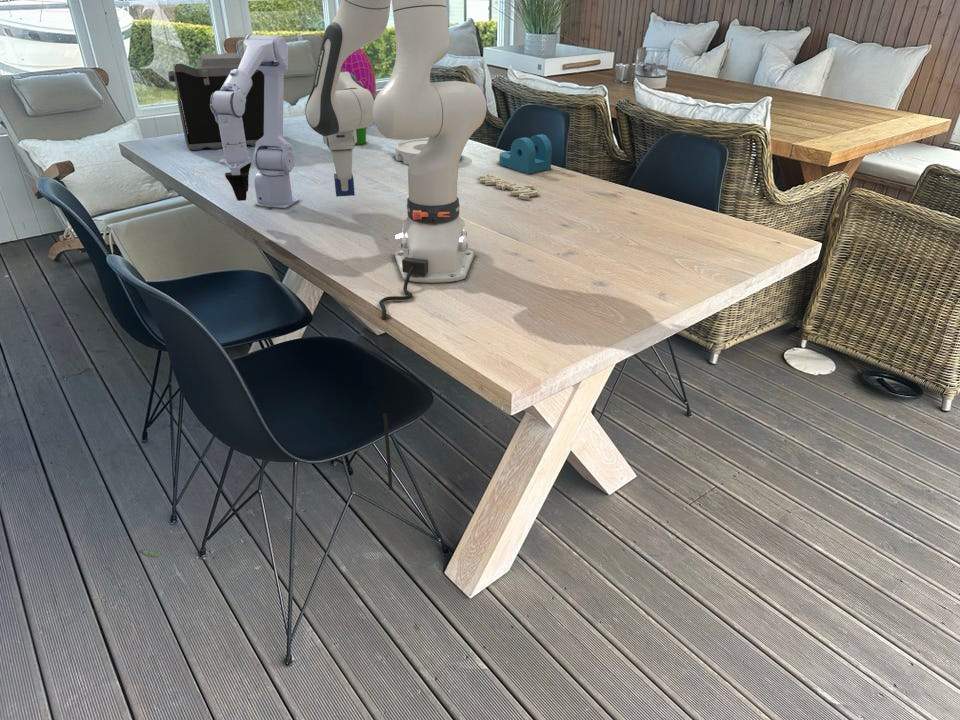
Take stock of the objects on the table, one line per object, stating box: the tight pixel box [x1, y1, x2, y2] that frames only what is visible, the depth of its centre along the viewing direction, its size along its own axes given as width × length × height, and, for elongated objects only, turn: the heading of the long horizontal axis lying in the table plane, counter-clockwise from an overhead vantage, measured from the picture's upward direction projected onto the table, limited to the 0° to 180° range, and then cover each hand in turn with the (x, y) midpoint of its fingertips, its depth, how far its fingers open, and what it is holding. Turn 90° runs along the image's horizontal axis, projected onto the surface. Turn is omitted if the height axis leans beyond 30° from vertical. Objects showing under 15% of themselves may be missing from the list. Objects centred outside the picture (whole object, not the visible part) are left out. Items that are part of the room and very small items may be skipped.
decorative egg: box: [341, 47, 377, 97], centre depth 286 cm, size 19×19×30 cm
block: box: [333, 173, 356, 197], centre depth 189 cm, size 5×5×5 cm
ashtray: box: [394, 138, 462, 166], centre depth 243 cm, size 23×23×4 cm
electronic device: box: [167, 52, 264, 151], centre depth 254 cm, size 37×22×30 cm, turn 111°
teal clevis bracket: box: [498, 133, 553, 175], centre depth 233 cm, size 18×10×10 cm, turn 39°
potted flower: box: [350, 74, 368, 145], centre depth 255 cm, size 9×8×25 cm
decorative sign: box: [479, 173, 539, 201], centre depth 214 cm, size 26×1×10 cm
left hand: (242, 195), depth 178 cm, fingers open, 7 cm apart
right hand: (344, 187), depth 189 cm, fingers closed on block, 5 cm apart
